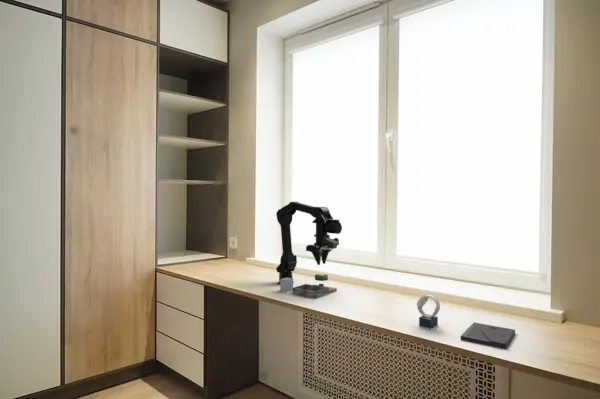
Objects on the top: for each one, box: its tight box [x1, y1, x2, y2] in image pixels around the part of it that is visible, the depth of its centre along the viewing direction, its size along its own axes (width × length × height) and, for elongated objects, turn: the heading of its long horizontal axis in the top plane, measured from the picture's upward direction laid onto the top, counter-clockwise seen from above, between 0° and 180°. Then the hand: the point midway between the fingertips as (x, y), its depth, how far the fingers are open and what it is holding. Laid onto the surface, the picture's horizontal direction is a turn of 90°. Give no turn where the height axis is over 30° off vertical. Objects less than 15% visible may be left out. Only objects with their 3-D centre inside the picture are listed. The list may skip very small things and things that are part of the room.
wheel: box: [314, 273, 329, 282], centre depth 198 cm, size 6×6×2 cm
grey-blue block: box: [279, 277, 294, 294], centre depth 197 cm, size 4×5×6 cm
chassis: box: [292, 283, 338, 299], centre depth 194 cm, size 14×18×3 cm
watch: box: [416, 294, 441, 329], centre depth 146 cm, size 6×8×11 cm
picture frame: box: [460, 321, 516, 350], centre depth 135 cm, size 13×2×18 cm
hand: (321, 264), depth 198 cm, fingers open, 4 cm apart
